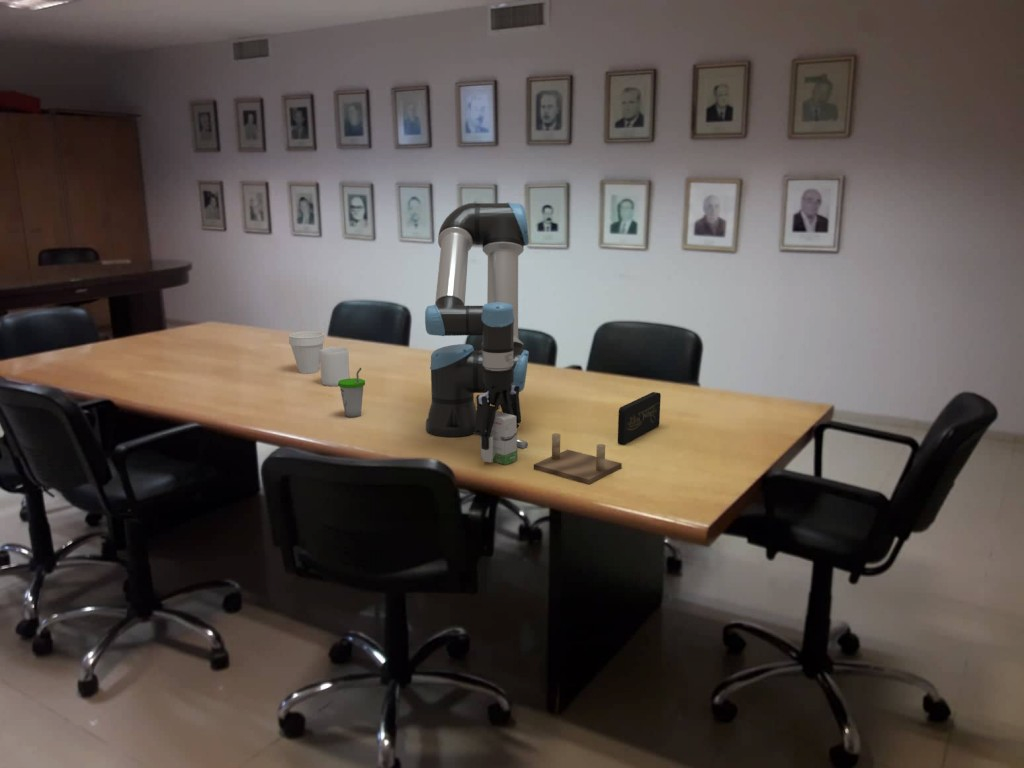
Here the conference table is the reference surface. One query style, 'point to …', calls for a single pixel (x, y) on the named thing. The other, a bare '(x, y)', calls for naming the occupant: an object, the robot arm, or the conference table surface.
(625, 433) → the nameplate
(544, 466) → the rack
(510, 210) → the robot arm
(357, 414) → the cup
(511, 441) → the ink box
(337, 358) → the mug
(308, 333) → the white flower pot
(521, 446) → the pin
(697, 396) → the conference table surface
